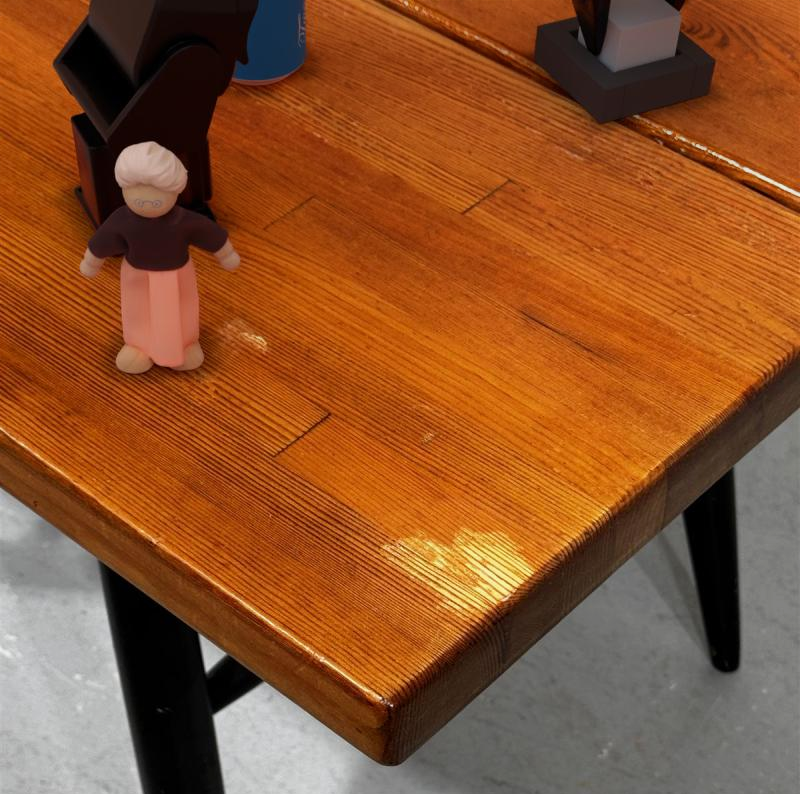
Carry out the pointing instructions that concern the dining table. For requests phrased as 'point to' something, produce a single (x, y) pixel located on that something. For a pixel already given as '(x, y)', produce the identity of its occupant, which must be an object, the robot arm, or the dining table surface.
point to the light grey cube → (638, 33)
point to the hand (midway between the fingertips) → (624, 44)
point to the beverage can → (274, 43)
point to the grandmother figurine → (156, 260)
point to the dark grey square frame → (621, 74)
